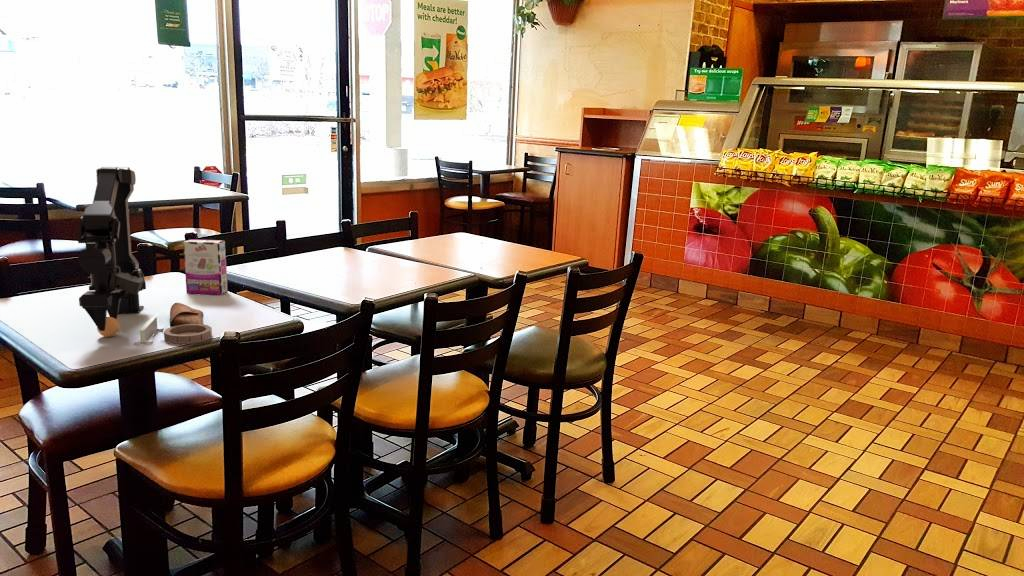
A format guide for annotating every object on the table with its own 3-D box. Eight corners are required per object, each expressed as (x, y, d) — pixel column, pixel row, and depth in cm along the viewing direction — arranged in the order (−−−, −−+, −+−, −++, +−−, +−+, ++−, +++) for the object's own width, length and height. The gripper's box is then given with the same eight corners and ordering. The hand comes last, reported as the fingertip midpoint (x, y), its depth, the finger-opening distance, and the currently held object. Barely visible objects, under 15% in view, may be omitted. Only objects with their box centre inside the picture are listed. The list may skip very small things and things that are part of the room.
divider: (147, 330, 194) (146, 316, 194) (163, 329, 195) (162, 316, 194) (133, 344, 183) (132, 330, 182) (151, 344, 184) (150, 330, 183)
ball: (101, 333, 190) (99, 314, 189) (123, 333, 191) (121, 314, 190) (95, 339, 185) (93, 320, 184) (117, 339, 186) (115, 319, 185)
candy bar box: (228, 292, 235) (226, 240, 232) (222, 296, 231) (219, 242, 227) (193, 290, 236) (189, 238, 232) (185, 294, 231) (182, 241, 227)
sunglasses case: (206, 328, 196) (190, 307, 193) (182, 343, 194) (165, 322, 191) (203, 311, 212) (188, 292, 209) (180, 326, 210) (165, 306, 207)
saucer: (170, 331, 194) (169, 324, 193) (215, 331, 196) (215, 323, 195) (159, 345, 183) (158, 336, 183) (207, 344, 185) (207, 335, 185)
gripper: (127, 271, 177) (132, 335, 180) (148, 256, 194) (153, 314, 198) (75, 271, 174) (81, 336, 178) (101, 256, 192) (106, 315, 196)
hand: (108, 325), depth 188 cm, fingers open, 9 cm apart
